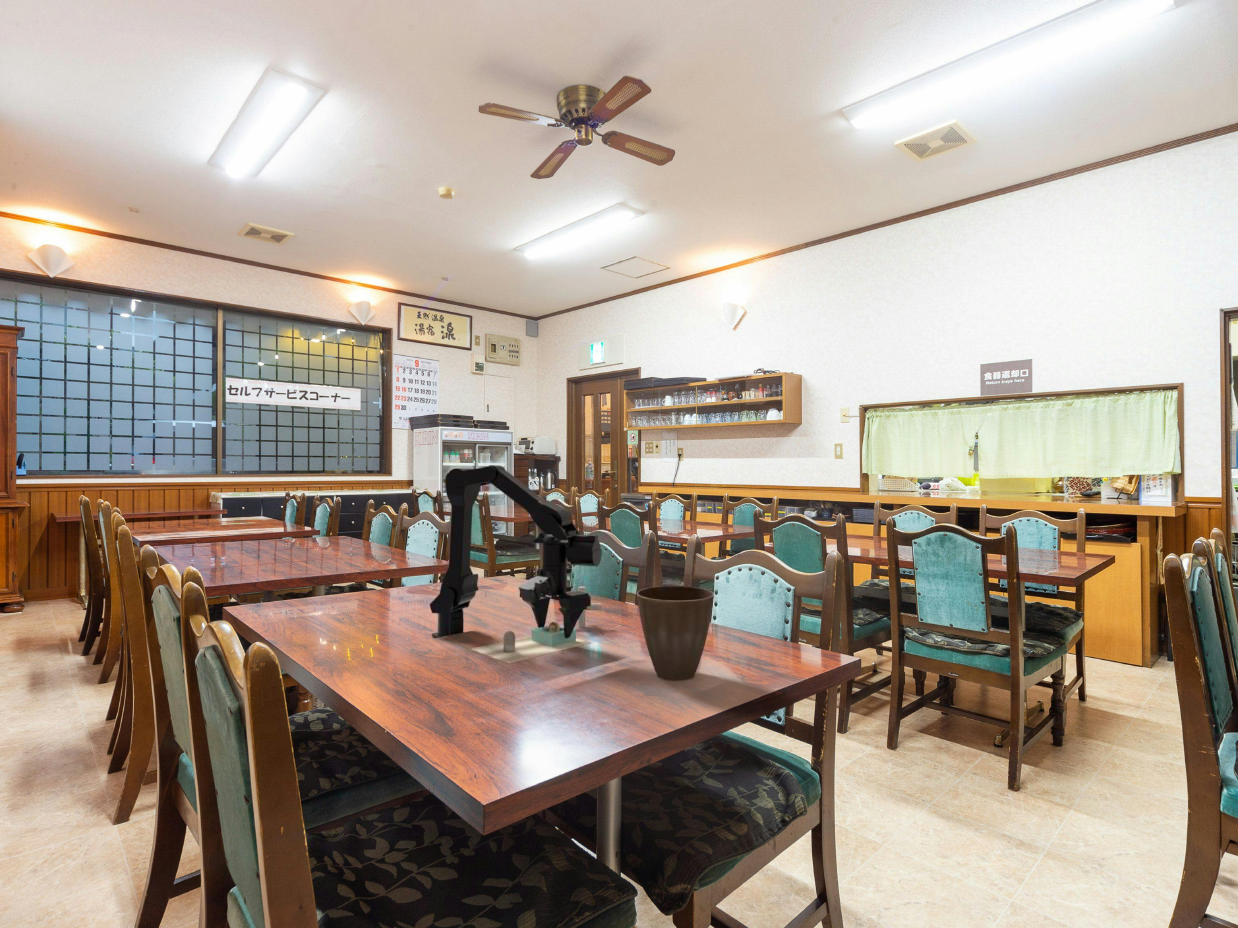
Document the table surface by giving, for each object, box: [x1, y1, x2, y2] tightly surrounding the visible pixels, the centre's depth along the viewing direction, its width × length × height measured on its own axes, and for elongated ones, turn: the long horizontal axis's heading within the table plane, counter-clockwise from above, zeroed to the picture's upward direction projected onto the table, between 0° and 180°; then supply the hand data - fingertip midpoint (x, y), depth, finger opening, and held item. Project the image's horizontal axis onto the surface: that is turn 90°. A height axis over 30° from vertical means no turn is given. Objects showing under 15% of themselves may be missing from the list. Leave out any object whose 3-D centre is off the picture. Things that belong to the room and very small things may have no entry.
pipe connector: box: [577, 586, 603, 628], centre depth 163 cm, size 10×10×10 cm
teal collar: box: [531, 624, 577, 647], centre depth 144 cm, size 7×7×2 cm
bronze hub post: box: [548, 621, 560, 633], centre depth 144 cm, size 2×2×4 cm
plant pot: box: [636, 585, 715, 682], centre depth 125 cm, size 15×15×16 cm
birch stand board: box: [471, 630, 592, 664], centre depth 139 cm, size 14×22×6 cm, turn 135°
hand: (553, 634), depth 144 cm, fingers open, 9 cm apart
